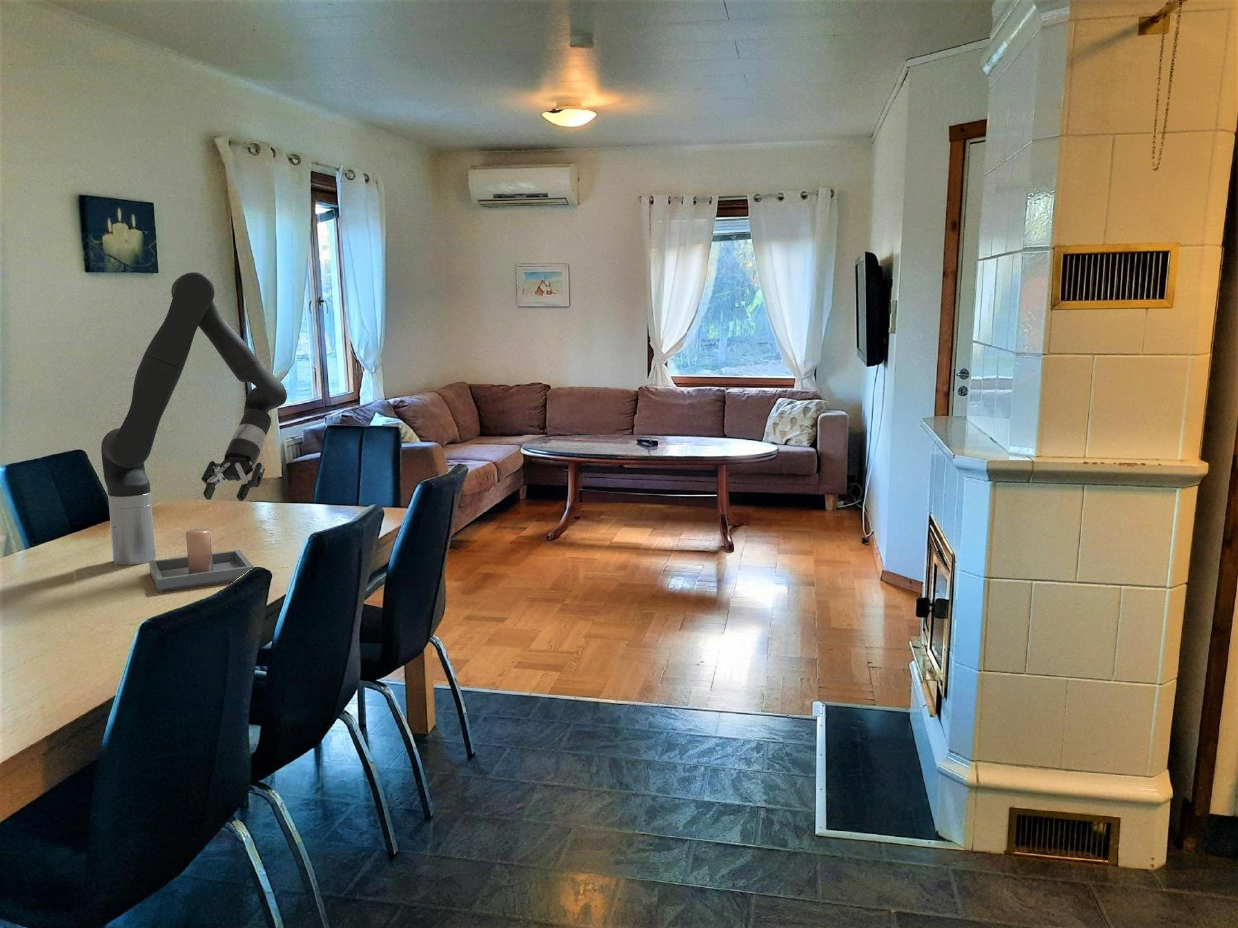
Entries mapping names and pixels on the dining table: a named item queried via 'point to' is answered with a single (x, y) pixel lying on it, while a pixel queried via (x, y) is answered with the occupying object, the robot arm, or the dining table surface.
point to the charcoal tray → (177, 576)
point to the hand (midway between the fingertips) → (223, 498)
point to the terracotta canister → (199, 551)
